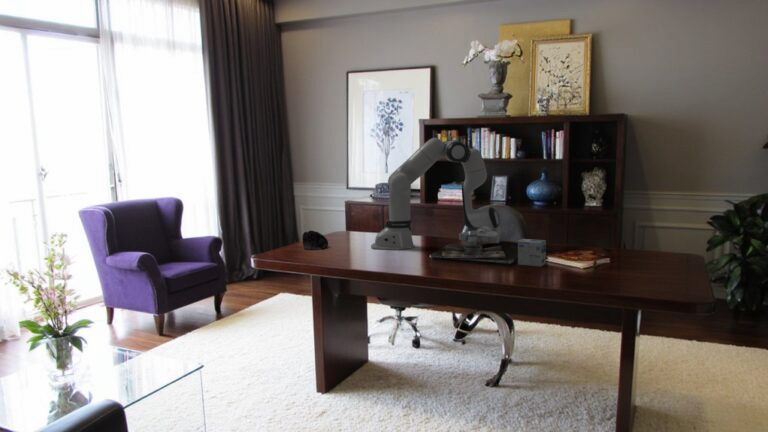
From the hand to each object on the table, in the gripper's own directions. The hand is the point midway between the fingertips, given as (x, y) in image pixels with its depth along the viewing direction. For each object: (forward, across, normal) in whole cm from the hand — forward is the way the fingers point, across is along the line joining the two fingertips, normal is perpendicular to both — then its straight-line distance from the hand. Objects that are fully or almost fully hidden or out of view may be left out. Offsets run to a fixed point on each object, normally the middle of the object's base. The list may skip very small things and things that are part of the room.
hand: (473, 239), depth 276 cm
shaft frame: (+13, +6, +5) cm, 15 cm away
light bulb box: (+17, +35, +6) cm, 39 cm away
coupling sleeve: (+1, 0, +5) cm, 5 cm away
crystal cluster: (+28, -78, +6) cm, 83 cm away
